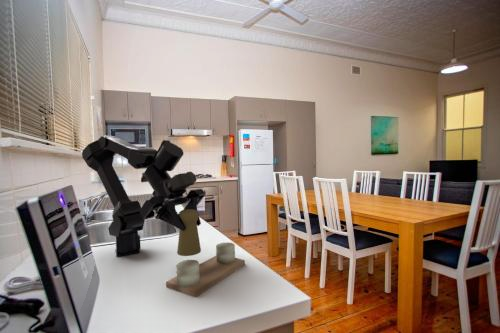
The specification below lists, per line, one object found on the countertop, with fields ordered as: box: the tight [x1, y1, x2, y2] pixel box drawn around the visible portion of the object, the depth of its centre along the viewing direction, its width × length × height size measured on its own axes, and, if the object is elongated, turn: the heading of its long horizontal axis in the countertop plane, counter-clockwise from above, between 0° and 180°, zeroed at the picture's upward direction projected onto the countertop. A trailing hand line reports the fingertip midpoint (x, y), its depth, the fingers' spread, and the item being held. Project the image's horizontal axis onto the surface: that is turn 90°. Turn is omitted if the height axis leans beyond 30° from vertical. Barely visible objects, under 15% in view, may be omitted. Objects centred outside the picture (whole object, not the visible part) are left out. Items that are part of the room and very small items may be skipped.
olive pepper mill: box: [176, 209, 202, 257], centre depth 68 cm, size 6×6×11 cm
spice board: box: [165, 241, 246, 298], centre depth 65 cm, size 9×19×5 cm, turn 148°
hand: (192, 227), depth 68 cm, fingers closed on olive pepper mill, 5 cm apart
